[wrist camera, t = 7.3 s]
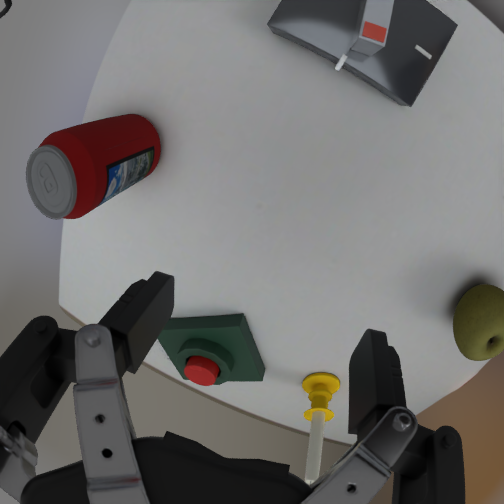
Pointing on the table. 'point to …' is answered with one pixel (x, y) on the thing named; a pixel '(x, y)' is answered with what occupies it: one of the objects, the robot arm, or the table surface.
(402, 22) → the plate
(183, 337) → the button box
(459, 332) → the apple
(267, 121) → the table surface
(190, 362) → the red button
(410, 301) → the table surface
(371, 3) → the tap handle
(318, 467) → the candle
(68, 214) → the beverage can
